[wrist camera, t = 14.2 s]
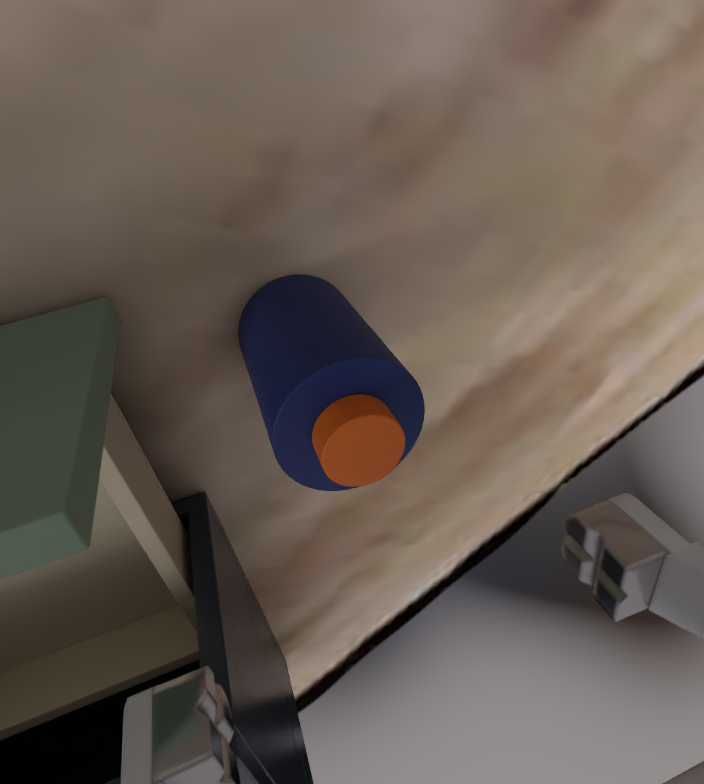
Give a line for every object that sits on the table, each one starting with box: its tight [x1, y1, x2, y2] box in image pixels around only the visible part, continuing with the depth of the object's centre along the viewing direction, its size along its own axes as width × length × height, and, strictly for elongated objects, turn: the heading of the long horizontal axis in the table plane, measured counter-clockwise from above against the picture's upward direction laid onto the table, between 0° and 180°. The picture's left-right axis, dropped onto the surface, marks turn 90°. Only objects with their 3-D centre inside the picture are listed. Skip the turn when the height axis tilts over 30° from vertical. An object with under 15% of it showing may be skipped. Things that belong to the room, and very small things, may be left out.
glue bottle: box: [238, 275, 425, 491], centre depth 15 cm, size 4×4×7 cm
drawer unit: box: [0, 492, 313, 784], centre depth 19 cm, size 14×14×10 cm
